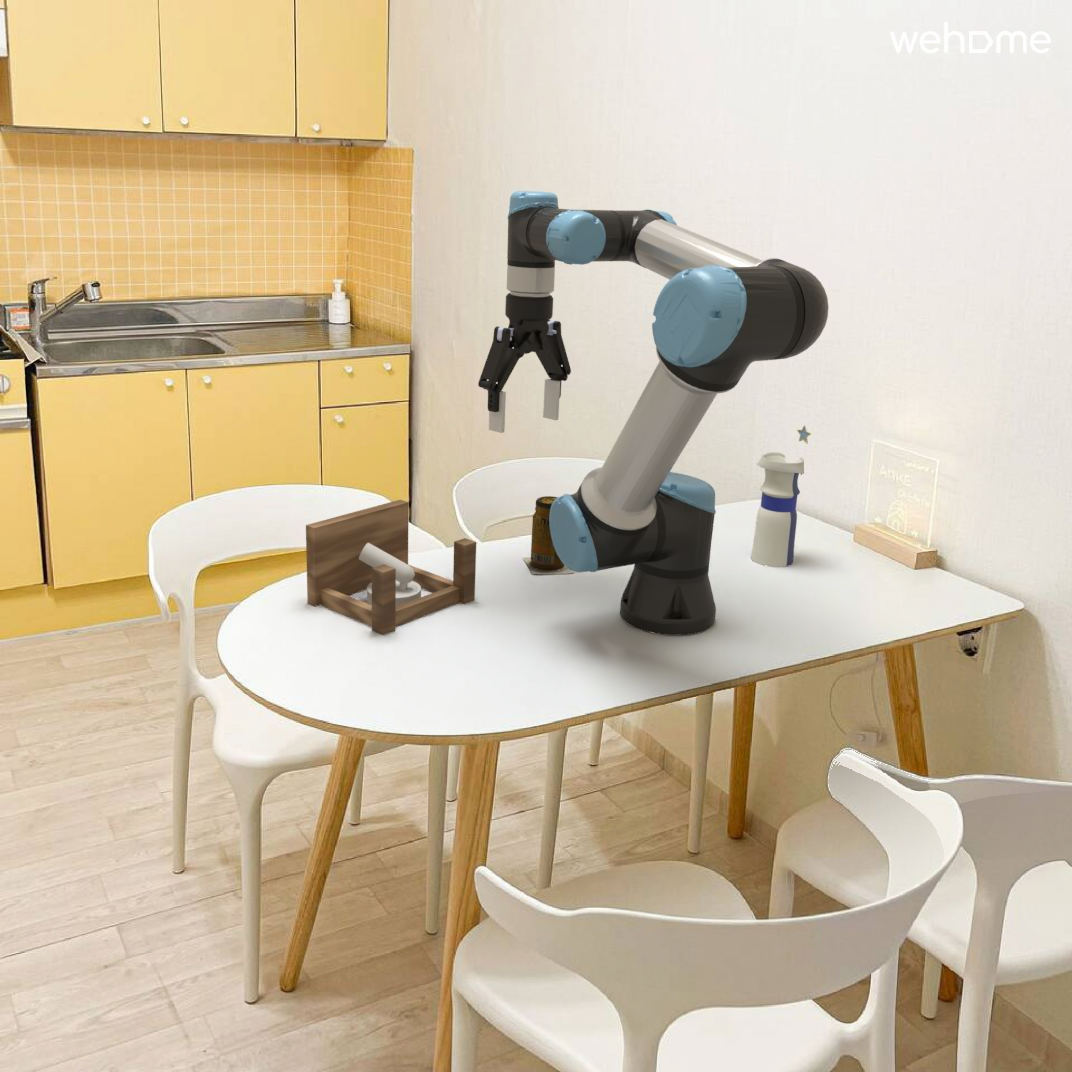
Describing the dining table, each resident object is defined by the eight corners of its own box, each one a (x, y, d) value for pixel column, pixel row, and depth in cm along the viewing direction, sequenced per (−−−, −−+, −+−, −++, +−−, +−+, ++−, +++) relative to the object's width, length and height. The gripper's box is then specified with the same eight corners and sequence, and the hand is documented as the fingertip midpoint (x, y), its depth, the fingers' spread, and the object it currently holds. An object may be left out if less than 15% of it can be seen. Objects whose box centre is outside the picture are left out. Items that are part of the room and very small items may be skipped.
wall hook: (369, 534, 187) (428, 540, 185) (369, 589, 190) (427, 596, 188) (350, 551, 179) (411, 558, 177) (350, 608, 182) (411, 615, 180)
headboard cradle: (474, 600, 187) (476, 524, 183) (383, 635, 173) (383, 553, 168) (399, 572, 198) (400, 499, 193) (307, 602, 183) (305, 525, 179)
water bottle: (759, 548, 218) (774, 418, 210) (801, 558, 213) (818, 426, 205) (739, 559, 211) (754, 426, 203) (783, 570, 207) (799, 434, 199)
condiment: (562, 557, 208) (565, 493, 205) (573, 574, 201) (577, 508, 197) (522, 558, 207) (525, 494, 203) (532, 575, 199) (535, 509, 195)
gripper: (560, 285, 194) (554, 409, 201) (457, 295, 175) (454, 432, 182) (596, 290, 189) (588, 417, 196) (494, 301, 171) (489, 441, 178)
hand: (524, 424), depth 189 cm, fingers open, 13 cm apart
